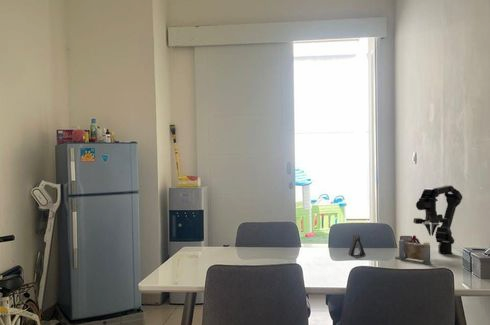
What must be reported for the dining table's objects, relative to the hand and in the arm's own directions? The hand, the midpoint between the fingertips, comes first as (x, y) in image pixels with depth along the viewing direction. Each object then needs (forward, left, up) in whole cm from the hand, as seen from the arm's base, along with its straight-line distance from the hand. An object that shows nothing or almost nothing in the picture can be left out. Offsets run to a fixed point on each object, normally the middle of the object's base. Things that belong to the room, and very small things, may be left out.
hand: (431, 235), depth 260 cm
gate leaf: (+12, +15, -11) cm, 22 cm away
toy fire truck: (+9, -11, -12) cm, 19 cm away
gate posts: (+15, +14, -12) cm, 24 cm away
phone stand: (+43, -3, -12) cm, 45 cm away
